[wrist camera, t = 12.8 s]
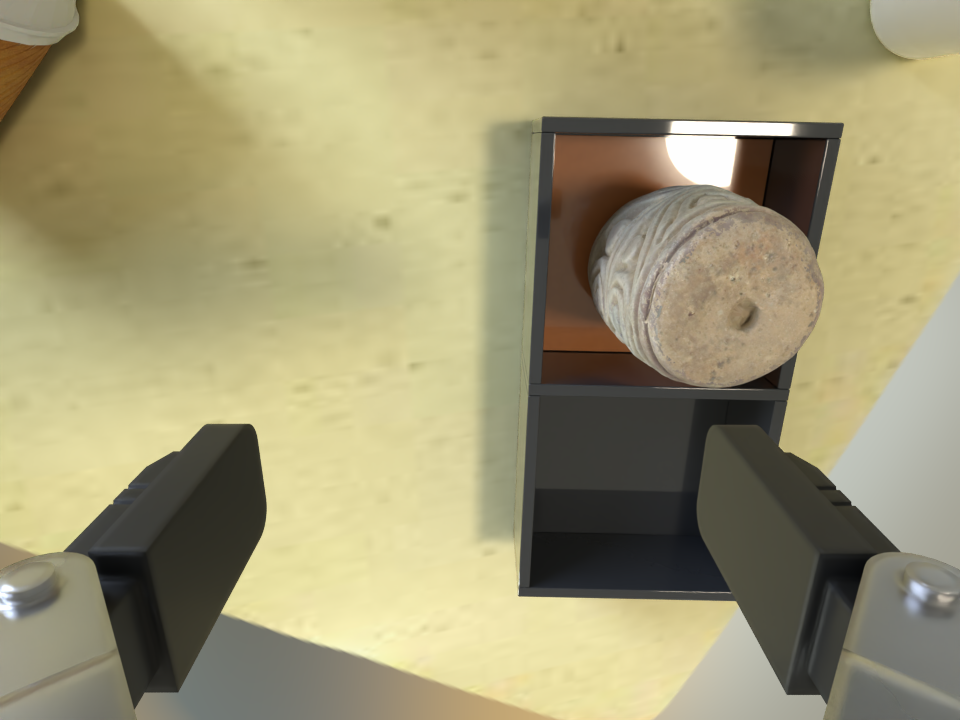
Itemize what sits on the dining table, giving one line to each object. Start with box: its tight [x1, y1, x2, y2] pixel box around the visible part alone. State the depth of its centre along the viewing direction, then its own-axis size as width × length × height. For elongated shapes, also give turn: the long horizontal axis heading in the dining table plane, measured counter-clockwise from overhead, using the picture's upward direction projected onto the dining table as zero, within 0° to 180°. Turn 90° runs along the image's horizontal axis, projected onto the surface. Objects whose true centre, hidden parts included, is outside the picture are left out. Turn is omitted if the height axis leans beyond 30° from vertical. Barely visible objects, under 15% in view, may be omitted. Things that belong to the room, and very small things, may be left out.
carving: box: [588, 184, 824, 388], centre depth 26 cm, size 6×8×12 cm
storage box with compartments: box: [513, 117, 844, 601], centre depth 32 cm, size 24×12×6 cm, turn 179°
